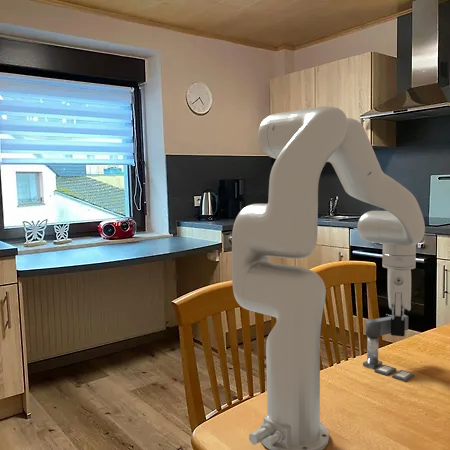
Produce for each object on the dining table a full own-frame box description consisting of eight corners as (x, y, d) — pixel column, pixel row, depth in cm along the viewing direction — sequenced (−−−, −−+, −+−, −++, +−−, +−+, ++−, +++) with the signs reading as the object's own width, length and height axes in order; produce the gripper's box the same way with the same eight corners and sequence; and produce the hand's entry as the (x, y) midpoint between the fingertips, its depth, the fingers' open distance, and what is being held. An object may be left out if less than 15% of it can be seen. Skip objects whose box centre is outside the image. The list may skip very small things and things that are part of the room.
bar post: (373, 369, 114) (374, 340, 113) (362, 365, 116) (363, 337, 116) (382, 364, 117) (382, 336, 116) (371, 361, 119) (371, 333, 118)
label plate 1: (386, 375, 110) (386, 373, 110) (374, 371, 113) (374, 369, 113) (396, 370, 113) (396, 367, 113) (384, 366, 116) (384, 364, 116)
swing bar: (410, 330, 118) (410, 316, 118) (372, 338, 114) (372, 323, 113) (400, 326, 122) (400, 313, 121) (362, 334, 117) (362, 320, 116)
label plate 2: (405, 381, 107) (405, 379, 107) (392, 377, 109) (392, 374, 109) (414, 375, 110) (414, 373, 110) (401, 371, 112) (401, 369, 112)
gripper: (416, 267, 105) (415, 346, 106) (414, 256, 119) (413, 327, 120) (381, 265, 107) (380, 343, 109) (383, 255, 121) (382, 324, 123)
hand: (397, 334), depth 115 cm, fingers closed
